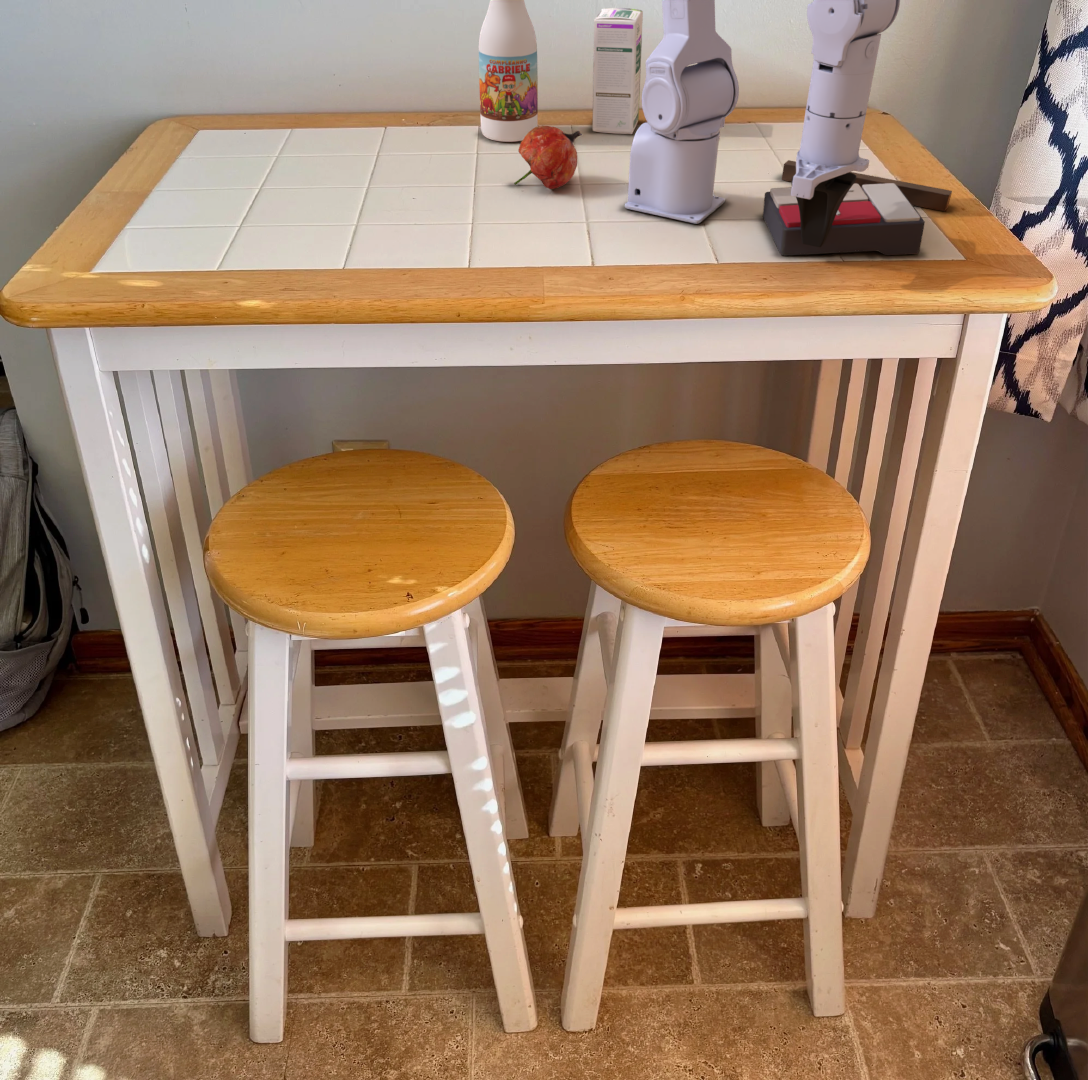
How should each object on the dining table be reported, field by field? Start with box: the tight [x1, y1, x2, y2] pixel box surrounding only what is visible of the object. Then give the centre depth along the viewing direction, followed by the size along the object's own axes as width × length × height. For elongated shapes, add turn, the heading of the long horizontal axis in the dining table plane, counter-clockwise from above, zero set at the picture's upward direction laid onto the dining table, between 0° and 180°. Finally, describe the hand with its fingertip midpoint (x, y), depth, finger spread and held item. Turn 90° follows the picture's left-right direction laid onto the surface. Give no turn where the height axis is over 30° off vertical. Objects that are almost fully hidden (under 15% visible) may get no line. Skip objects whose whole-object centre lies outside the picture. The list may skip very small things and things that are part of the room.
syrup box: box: [591, 7, 644, 135], centre depth 140 cm, size 6×6×14 cm
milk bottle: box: [478, 0, 539, 143], centre depth 136 cm, size 8×8×20 cm
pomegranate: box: [513, 124, 583, 190], centre depth 125 cm, size 7×7×10 cm
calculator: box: [762, 183, 926, 257], centre depth 115 cm, size 11×4×15 cm
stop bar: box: [781, 159, 953, 212], centre depth 125 cm, size 20×2×2 cm, turn 60°
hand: (812, 244), depth 110 cm, fingers closed
